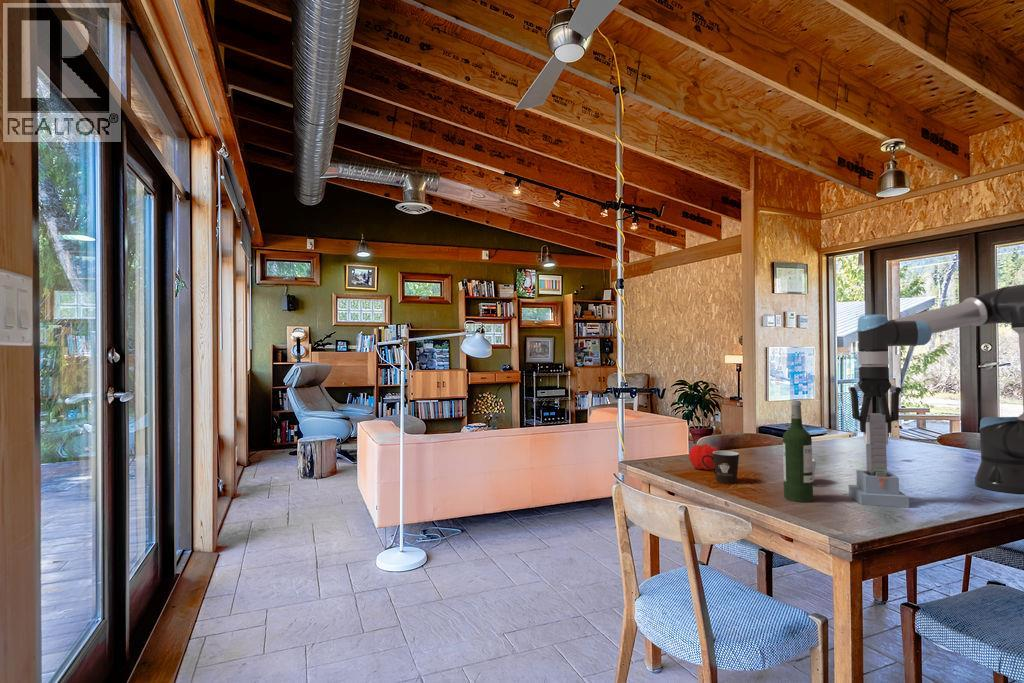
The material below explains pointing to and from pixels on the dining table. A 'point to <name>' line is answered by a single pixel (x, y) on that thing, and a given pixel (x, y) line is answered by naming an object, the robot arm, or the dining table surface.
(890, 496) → the stand base
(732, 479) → the coffee mug
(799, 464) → the wine bottle
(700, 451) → the red rounded lump
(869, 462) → the column
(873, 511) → the dining table surface
